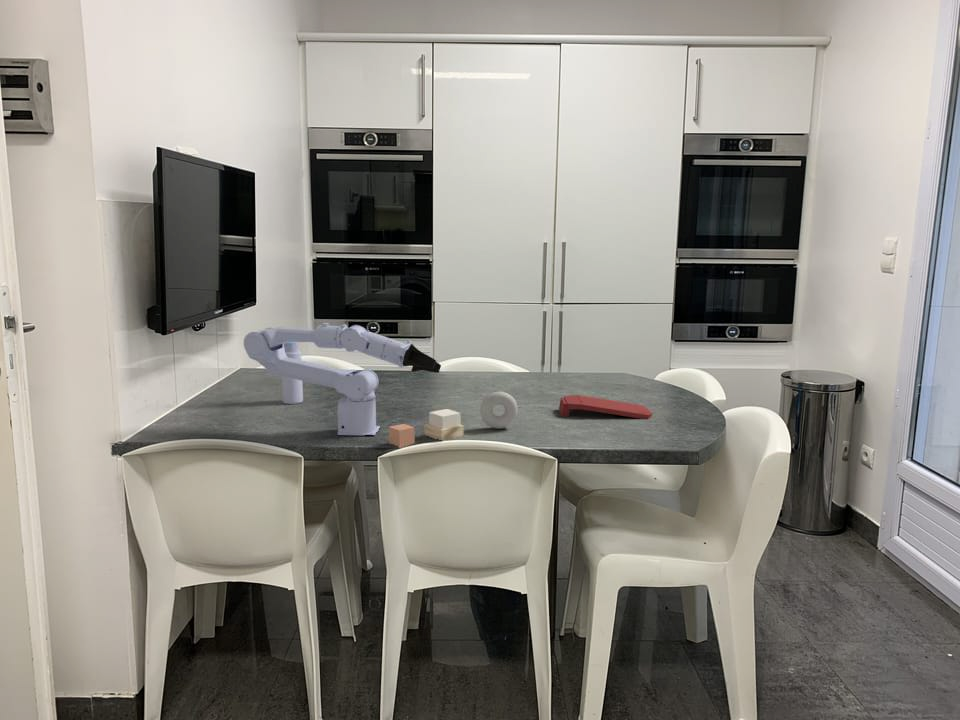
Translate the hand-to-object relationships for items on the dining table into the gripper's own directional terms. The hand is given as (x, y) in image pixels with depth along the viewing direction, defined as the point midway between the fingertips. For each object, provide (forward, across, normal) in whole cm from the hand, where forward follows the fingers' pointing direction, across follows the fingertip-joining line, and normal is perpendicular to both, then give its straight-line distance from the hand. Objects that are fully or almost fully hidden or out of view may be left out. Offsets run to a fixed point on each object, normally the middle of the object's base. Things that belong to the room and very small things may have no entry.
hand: (437, 366), depth 181 cm
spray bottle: (-45, +36, +22) cm, 62 cm away
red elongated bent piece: (+44, +35, -5) cm, 56 cm away
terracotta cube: (-2, -1, +21) cm, 21 cm away
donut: (+18, +15, +9) cm, 25 cm away
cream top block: (+6, +6, +13) cm, 15 cm away
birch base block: (+6, +7, +16) cm, 18 cm away
